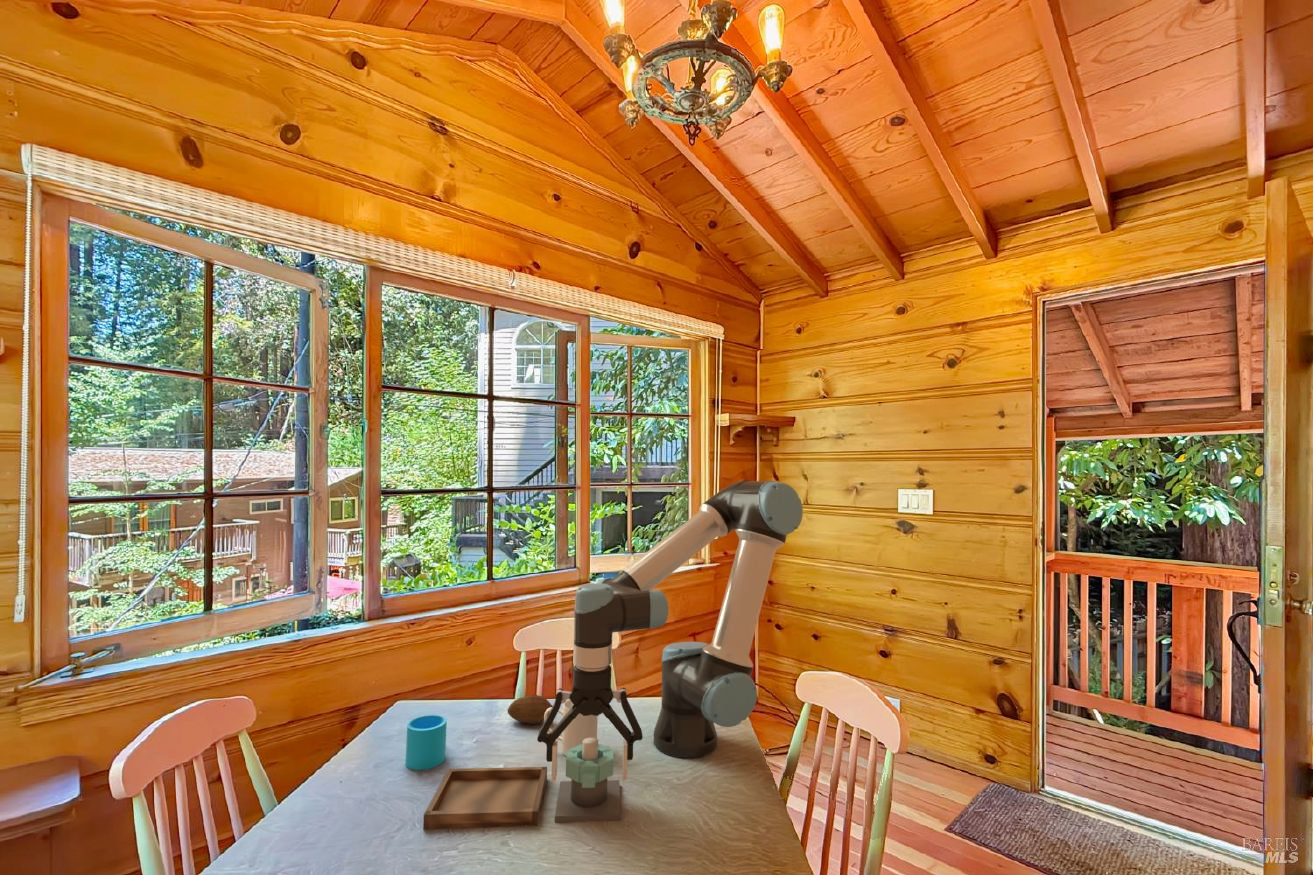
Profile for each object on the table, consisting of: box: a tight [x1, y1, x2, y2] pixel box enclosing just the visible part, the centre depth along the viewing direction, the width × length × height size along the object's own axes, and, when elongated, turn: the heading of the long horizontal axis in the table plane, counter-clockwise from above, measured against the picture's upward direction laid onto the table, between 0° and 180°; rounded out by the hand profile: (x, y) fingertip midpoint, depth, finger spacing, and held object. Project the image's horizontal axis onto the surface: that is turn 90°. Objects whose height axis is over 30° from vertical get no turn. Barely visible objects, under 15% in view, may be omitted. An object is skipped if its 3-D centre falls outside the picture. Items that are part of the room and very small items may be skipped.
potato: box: [507, 694, 553, 725], centre depth 147 cm, size 7×12×7 cm, turn 92°
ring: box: [565, 743, 614, 788], centre depth 111 cm, size 9×11×3 cm
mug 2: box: [543, 699, 599, 757], centre depth 132 cm, size 12×8×10 cm, turn 97°
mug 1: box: [405, 714, 448, 771], centre depth 129 cm, size 12×8×8 cm
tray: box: [422, 766, 548, 830], centre depth 111 cm, size 20×16×2 cm
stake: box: [554, 738, 622, 823], centre depth 112 cm, size 12×12×12 cm
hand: (589, 777), depth 112 cm, fingers open, 13 cm apart
